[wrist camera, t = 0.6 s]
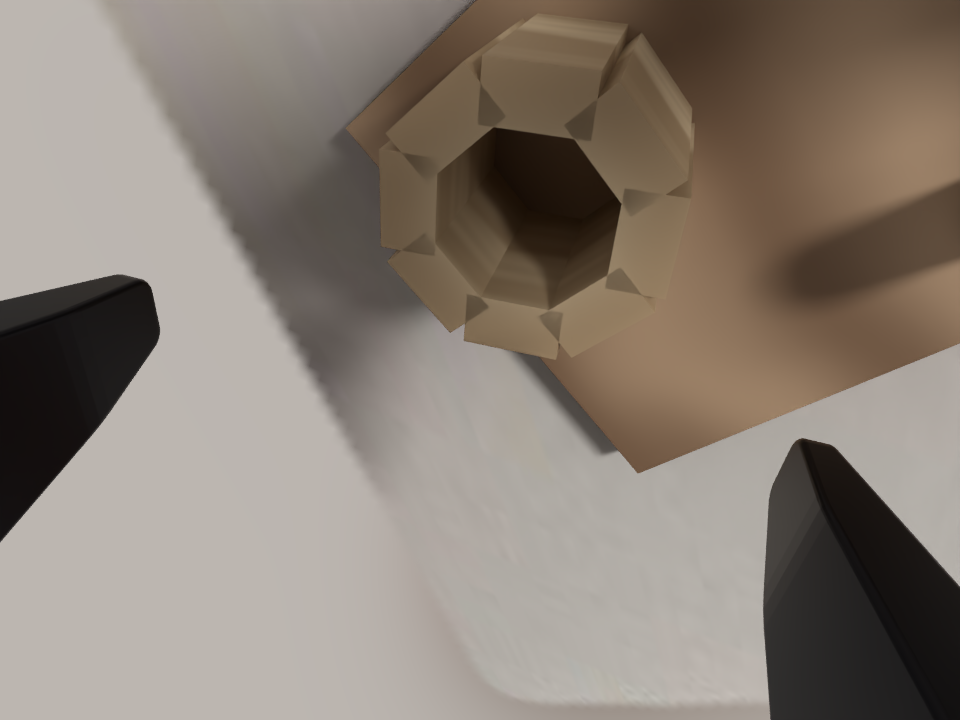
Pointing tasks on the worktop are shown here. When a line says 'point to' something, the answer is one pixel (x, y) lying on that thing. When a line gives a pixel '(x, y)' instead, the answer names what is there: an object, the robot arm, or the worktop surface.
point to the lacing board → (757, 205)
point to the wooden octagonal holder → (530, 234)
